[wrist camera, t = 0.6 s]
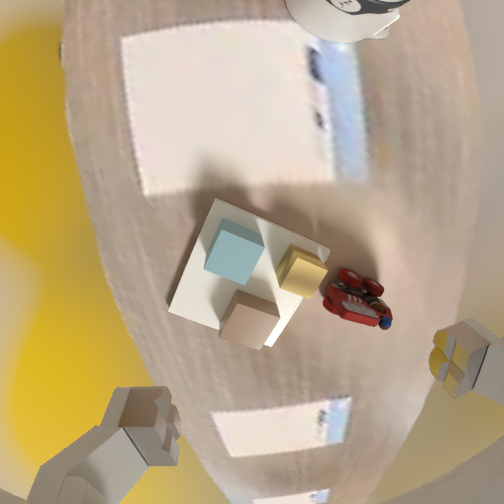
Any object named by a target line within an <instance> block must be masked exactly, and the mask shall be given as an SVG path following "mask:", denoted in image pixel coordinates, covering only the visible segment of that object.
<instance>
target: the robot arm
mask: <svg viewBox="0 0 504 504" xmlns="http://www.w3.org/2000/svg"><path fill="white" fill-rule="evenodd" d="M409 1H410V0H285V2H286V5H287V8H288V10H289V12H290V14H291V15H292V17H293V18H294V19H295V20H296V21H297V22H298V23H299V24H300V25H301V26H302V27H303V28H304V29H306V30H307V31H308V32H310V33H312V34H313V35H315V36H317V37H320V38H322V39H325V40H328V41H331V42H337V43H352V42H357V41H360V40H362V39H366V38H373V39H383V38H385V37H386V36H387V35H388V32H389V26H390V24H391V23H393V22H394V21H396V20H397V19H398V18H399V17H400V15H399V11H400V8H401V7H402V6H404V5H405V4H407V2H409ZM433 343H434V345H435V347H434V349H433V350H432V351H431V353H430V357H429V367H430V371H431V373H432V375H433V376H434V377H435V378H436V379H438V380H440V381H443V388H444V389H445V390H446V391H447V392H448V393H449V394H450V396H451V397H452V398H453V399H455V398H457V397H459V396H461V395H463V394H465V393H467V392H469V391H471V390H472V391H473V392H475V393H477V394H479V395H481V396H484V397H486V398H488V399H490V400H493V401H495V402H497V403H499V404H501V405H504V337H503V338H500V337H498V336H497V335H496V334H495V333H493V332H492V331H491V330H489V329H488V328H487V327H485V326H484V325H482V324H481V323H480V322H478V321H477V320H476V319H474V318H470V317H469V318H467V319H465V320H463V321H460V322H459V323H456V324H453V325H451V326H448V327H446V328H443V329H441V330H438V331H437V332H436V333H435V335H434V339H433ZM171 397H172V396H171V393H170V391H169V389H168V387H166V386H153V387H117V388H116V389H115V390H114V392H113V394H112V397H111V400H110V402H109V404H108V407H107V409H106V412H105V415H104V417H103V420H102V422H101V425H100V426H94V427H93V428H92V429H91V430H89V431H88V432H87V433H85V434H84V435H83V436H81V437H80V438H79V439H77V440H76V441H75V442H73V443H72V444H71V445H69V446H68V447H66V448H65V449H64V450H62V451H61V452H60V453H58V454H57V455H55V456H54V457H53V458H51V459H50V460H49V461H47V462H46V463H44V464H43V465H42V466H40V469H39V471H38V473H37V476H36V478H35V481H34V483H33V485H32V488H31V491H30V493H29V496H28V498H27V500H25V499H22V498H20V497H17V496H15V495H13V494H11V493H9V492H7V491H4V490H2V489H0V504H118V503H119V502H120V501H121V500H122V499H123V498H124V497H125V495H126V494H127V493H128V492H129V491H130V489H131V488H132V487H133V486H134V485H135V484H136V483H137V481H138V480H139V479H140V478H141V477H142V475H143V474H144V473H145V472H146V471H147V469H148V468H149V466H177V463H178V454H179V447H178V445H177V443H176V440H177V439H178V438H179V437H180V435H181V422H180V416H179V412H178V410H177V408H176V406H174V405H173V404H171ZM378 504H504V435H503V436H501V437H500V438H499V439H497V440H496V441H495V442H493V443H492V444H490V445H489V446H488V447H486V448H485V449H483V450H482V451H480V452H479V453H477V454H476V455H474V456H472V457H471V458H469V459H468V460H466V461H465V462H463V463H461V464H460V465H458V466H456V467H454V468H453V469H451V470H450V471H448V472H446V473H444V474H442V475H440V476H438V477H437V478H435V479H433V480H431V481H429V482H427V483H425V484H423V485H420V486H418V487H416V488H414V489H412V490H410V491H408V492H405V493H403V494H401V495H399V496H396V497H393V498H391V499H389V500H386V501H383V502H381V503H378Z"/></svg>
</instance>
